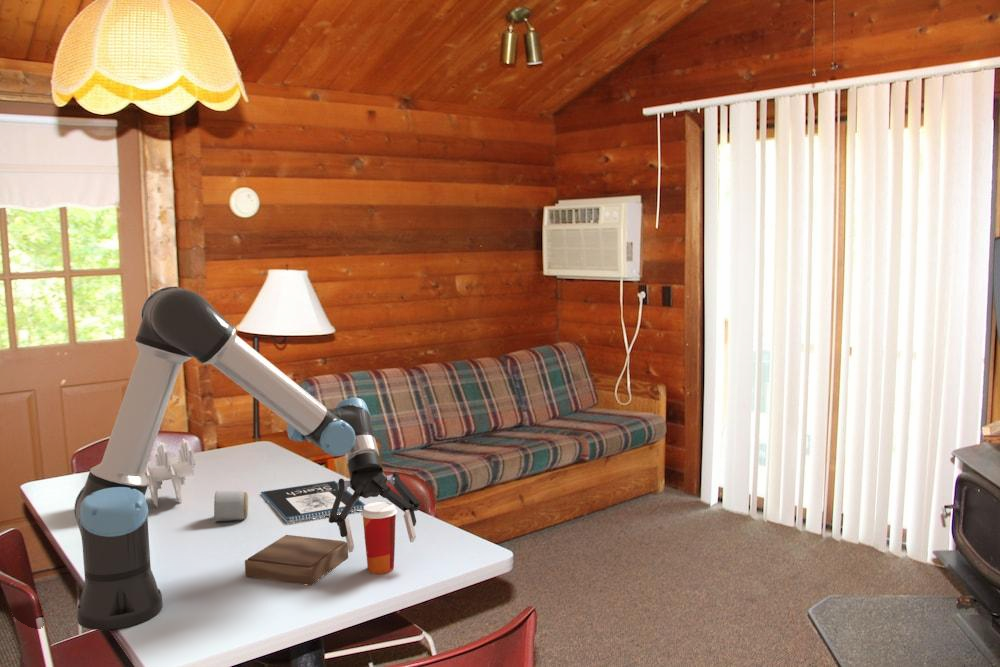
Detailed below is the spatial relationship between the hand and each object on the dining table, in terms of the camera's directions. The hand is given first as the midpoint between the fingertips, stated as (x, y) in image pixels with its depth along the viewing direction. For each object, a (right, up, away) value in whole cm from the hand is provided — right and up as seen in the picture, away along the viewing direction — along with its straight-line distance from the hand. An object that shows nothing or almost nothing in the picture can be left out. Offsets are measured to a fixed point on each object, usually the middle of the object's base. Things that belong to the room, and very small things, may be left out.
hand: (382, 544), depth 182 cm
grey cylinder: (-45, -3, +38) cm, 59 cm away
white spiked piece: (-71, -2, +48) cm, 86 cm away
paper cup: (-1, -6, +3) cm, 7 cm away
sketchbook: (-26, -2, +50) cm, 57 cm away
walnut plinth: (-19, -6, +4) cm, 21 cm away
